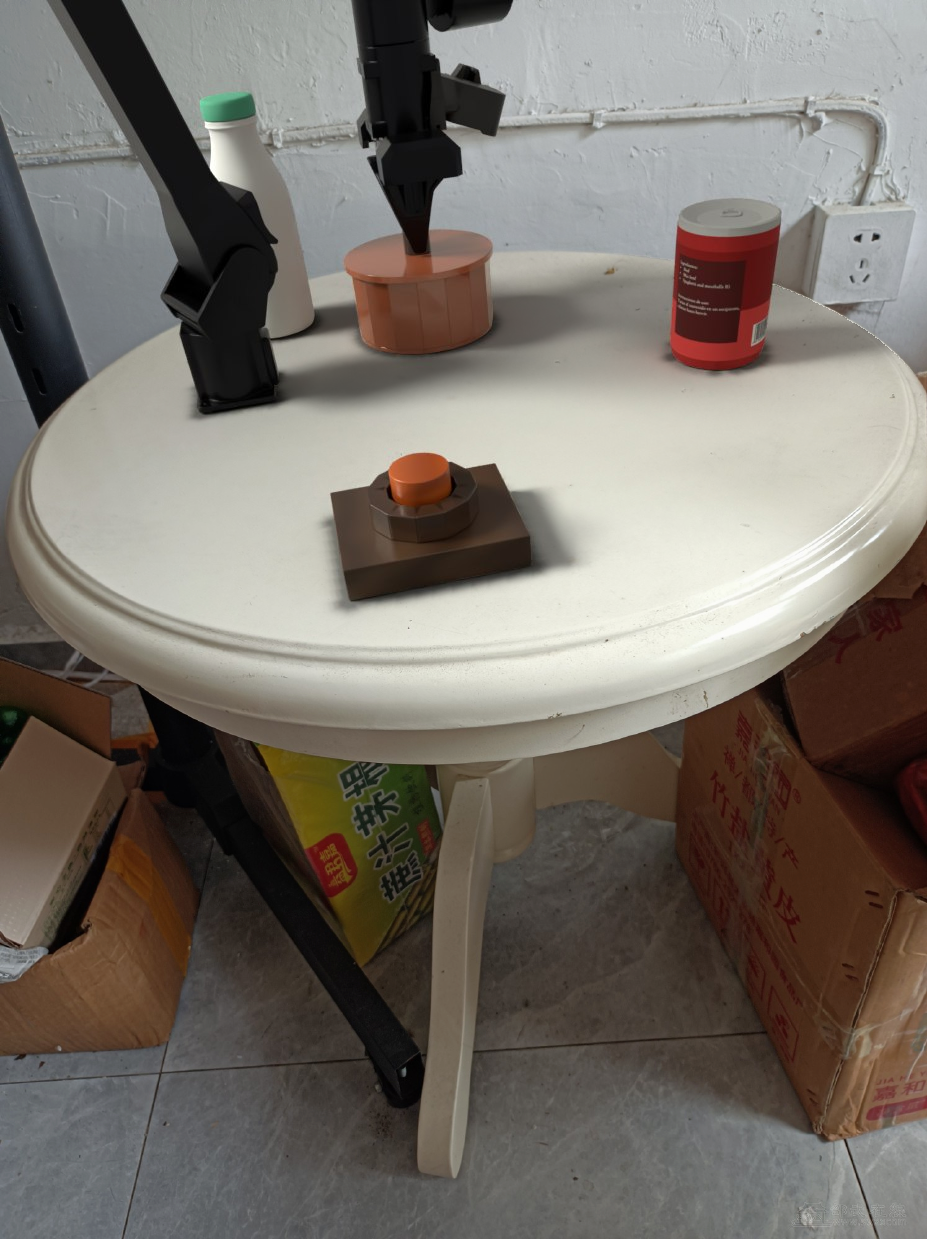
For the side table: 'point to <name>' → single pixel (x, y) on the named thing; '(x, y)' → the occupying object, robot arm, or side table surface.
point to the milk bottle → (261, 203)
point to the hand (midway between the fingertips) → (417, 247)
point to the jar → (425, 312)
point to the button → (420, 479)
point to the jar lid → (418, 257)
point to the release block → (428, 534)
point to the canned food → (723, 281)
